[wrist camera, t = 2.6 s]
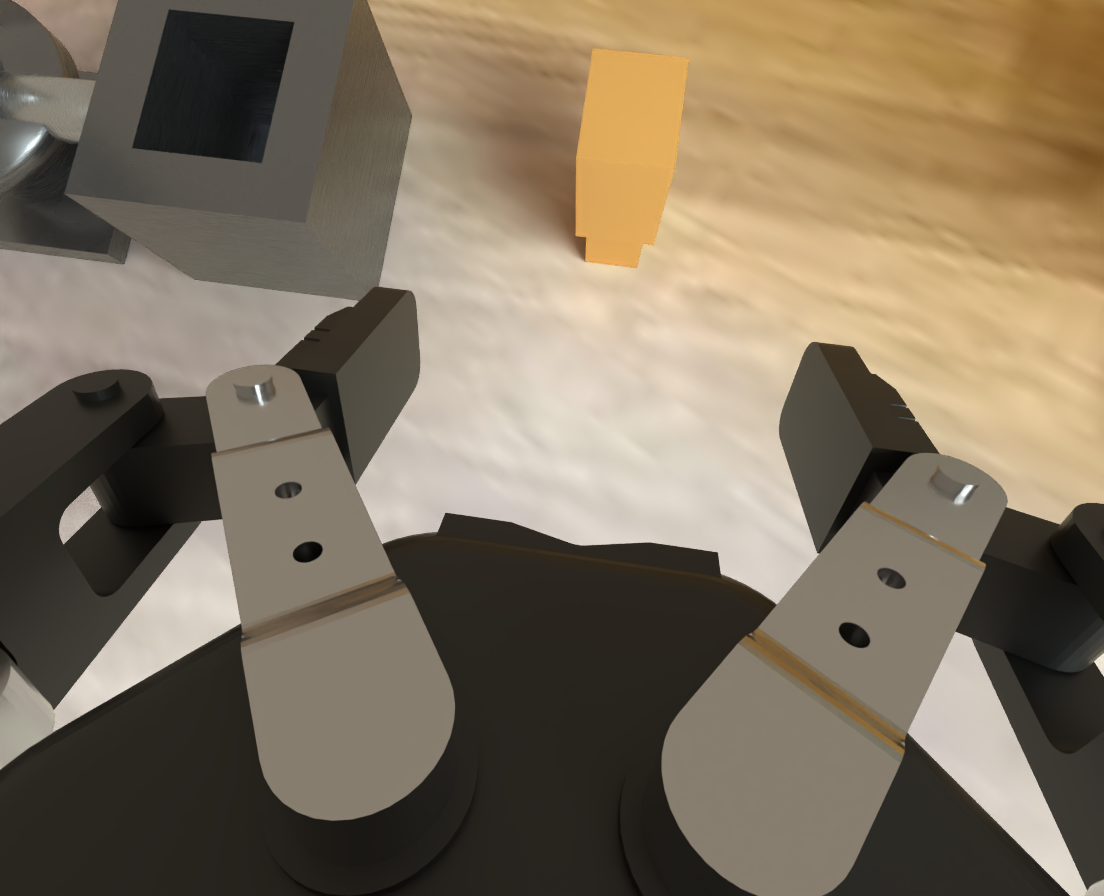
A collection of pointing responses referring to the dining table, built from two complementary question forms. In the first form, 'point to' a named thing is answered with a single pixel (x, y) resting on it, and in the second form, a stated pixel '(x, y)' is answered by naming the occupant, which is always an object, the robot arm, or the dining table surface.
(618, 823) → the robot arm
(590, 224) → the orange block
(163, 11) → the bracket post
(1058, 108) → the dining table surface
